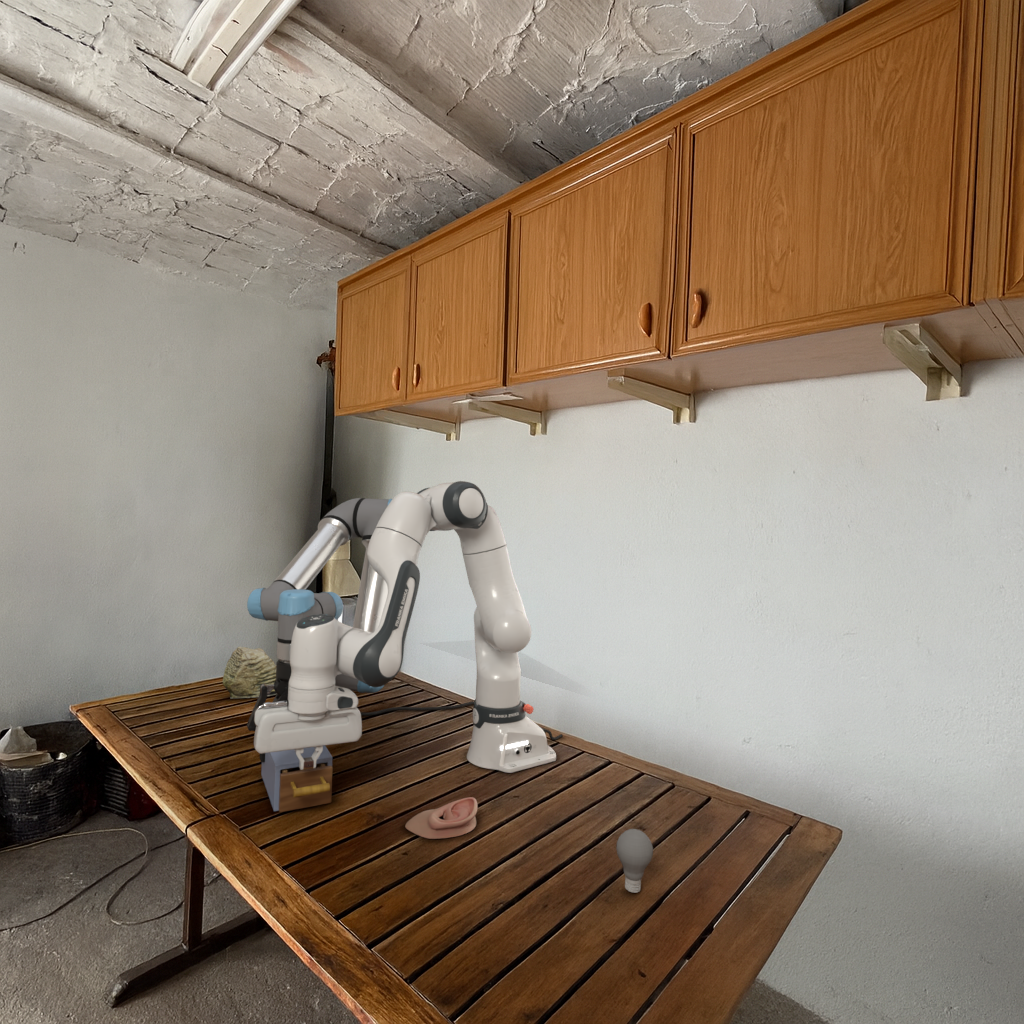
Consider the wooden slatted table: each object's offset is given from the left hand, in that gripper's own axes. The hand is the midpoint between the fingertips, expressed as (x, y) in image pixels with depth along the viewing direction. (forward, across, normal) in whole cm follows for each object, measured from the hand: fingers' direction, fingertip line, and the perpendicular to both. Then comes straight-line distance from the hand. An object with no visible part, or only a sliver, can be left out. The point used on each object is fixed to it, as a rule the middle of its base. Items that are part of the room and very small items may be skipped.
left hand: (290, 755), depth 143 cm
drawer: (+4, 0, -12) cm, 13 cm away
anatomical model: (+5, +23, -34) cm, 41 cm away
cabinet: (+5, 0, -6) cm, 7 cm away
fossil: (+5, 0, +63) cm, 63 cm away
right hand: (-5, 0, -20) cm, 21 cm away
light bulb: (+5, +44, -67) cm, 80 cm away
